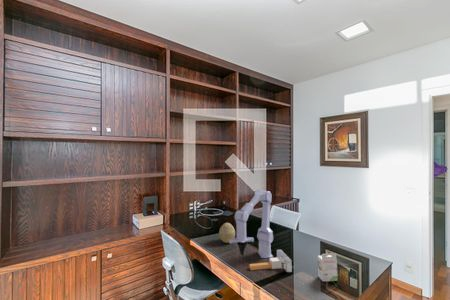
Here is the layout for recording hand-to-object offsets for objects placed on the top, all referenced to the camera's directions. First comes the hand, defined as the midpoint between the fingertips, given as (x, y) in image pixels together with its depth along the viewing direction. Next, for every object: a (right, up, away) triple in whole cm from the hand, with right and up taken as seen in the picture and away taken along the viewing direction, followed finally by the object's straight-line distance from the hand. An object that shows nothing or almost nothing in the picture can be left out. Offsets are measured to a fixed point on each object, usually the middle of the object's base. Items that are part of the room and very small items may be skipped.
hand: (241, 254), depth 125 cm
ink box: (+46, -9, -10) cm, 48 cm away
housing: (+26, -9, +4) cm, 28 cm away
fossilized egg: (-8, -11, +40) cm, 42 cm away
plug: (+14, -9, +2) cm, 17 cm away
